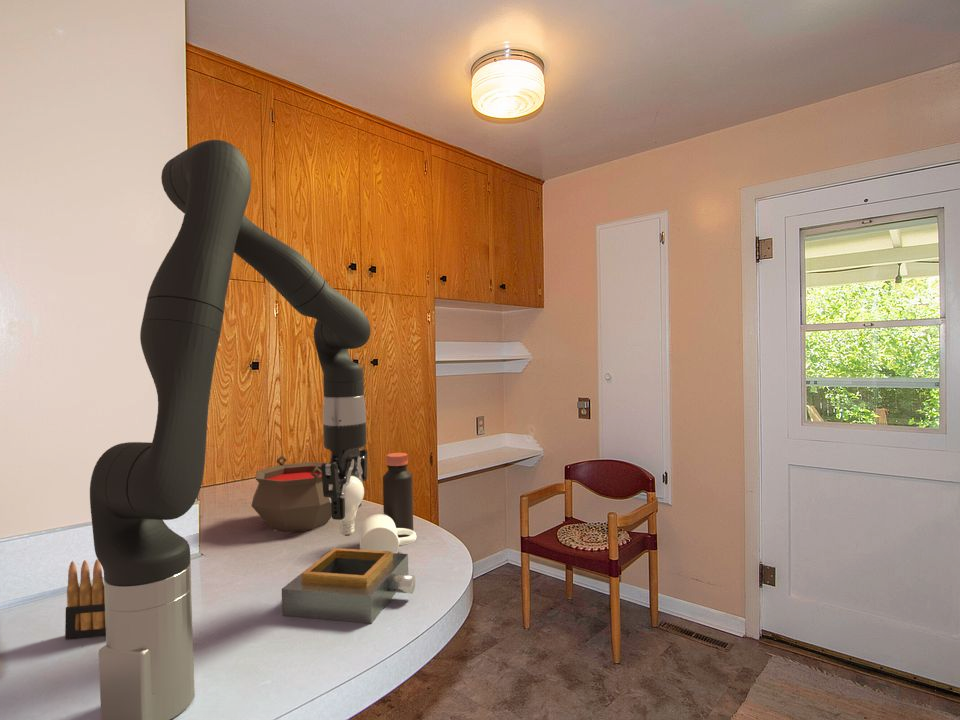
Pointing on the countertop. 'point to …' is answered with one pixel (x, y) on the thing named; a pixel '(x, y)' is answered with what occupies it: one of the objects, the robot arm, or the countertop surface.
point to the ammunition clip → (85, 603)
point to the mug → (383, 534)
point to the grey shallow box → (348, 585)
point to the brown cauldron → (292, 496)
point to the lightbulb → (351, 505)
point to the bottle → (398, 491)
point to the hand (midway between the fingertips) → (347, 512)
